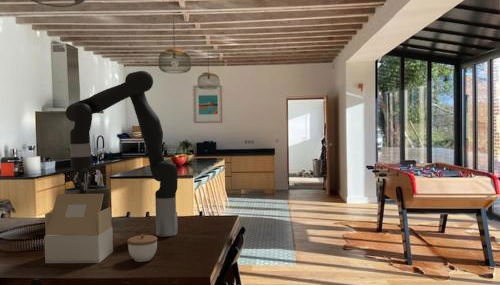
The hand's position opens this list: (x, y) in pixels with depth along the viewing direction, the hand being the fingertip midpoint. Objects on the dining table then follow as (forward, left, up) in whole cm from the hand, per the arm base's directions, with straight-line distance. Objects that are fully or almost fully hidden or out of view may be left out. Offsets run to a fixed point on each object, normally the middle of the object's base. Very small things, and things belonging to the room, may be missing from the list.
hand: (83, 199), depth 164 cm
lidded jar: (-25, +7, -22) cm, 34 cm away
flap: (0, +7, -4) cm, 8 cm away
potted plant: (+20, -50, -22) cm, 58 cm away
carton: (0, +4, -21) cm, 22 cm away
